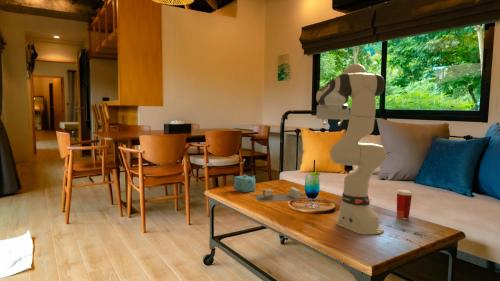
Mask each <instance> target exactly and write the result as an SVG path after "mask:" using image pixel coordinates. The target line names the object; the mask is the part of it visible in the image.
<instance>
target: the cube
mask: <svg viewBox="0 0 500 281" xmlns="http://www.w3.org/2000/svg"><path fill="white" fill-rule="evenodd" d="M274 192H275V190H273V189H272V188H263V189H262V195H263V198H264V199H273V196H274V194H275V193H274Z"/></svg>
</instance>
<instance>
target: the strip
mask: <svg viewBox="0 0 500 281" xmlns="http://www.w3.org/2000/svg"><path fill="white" fill-rule="evenodd" d="M300 193H301V190H300V189H298V188H296V187H293V186H291V187H289V194H290V195H273V199H264V198H263V196H253V197H254V198H255V199H256V200H257V201H268V202H270V201H269V200H291V201H293V200H292V199H301V195H300Z"/></svg>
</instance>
